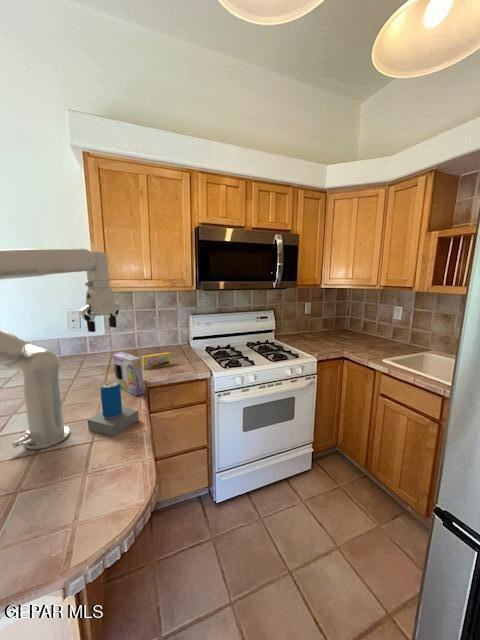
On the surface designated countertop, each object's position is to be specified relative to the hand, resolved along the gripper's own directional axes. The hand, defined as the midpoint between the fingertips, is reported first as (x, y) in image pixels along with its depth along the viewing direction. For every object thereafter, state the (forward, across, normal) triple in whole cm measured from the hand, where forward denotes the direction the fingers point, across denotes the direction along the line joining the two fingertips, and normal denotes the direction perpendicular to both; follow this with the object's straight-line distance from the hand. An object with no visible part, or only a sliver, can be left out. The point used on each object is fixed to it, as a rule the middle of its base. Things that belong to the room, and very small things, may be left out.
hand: (102, 329), depth 106 cm
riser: (+34, -7, -10) cm, 36 cm away
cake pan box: (+35, +19, +9) cm, 41 cm away
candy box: (+35, +52, +20) cm, 66 cm away
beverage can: (+31, -7, -10) cm, 33 cm away
